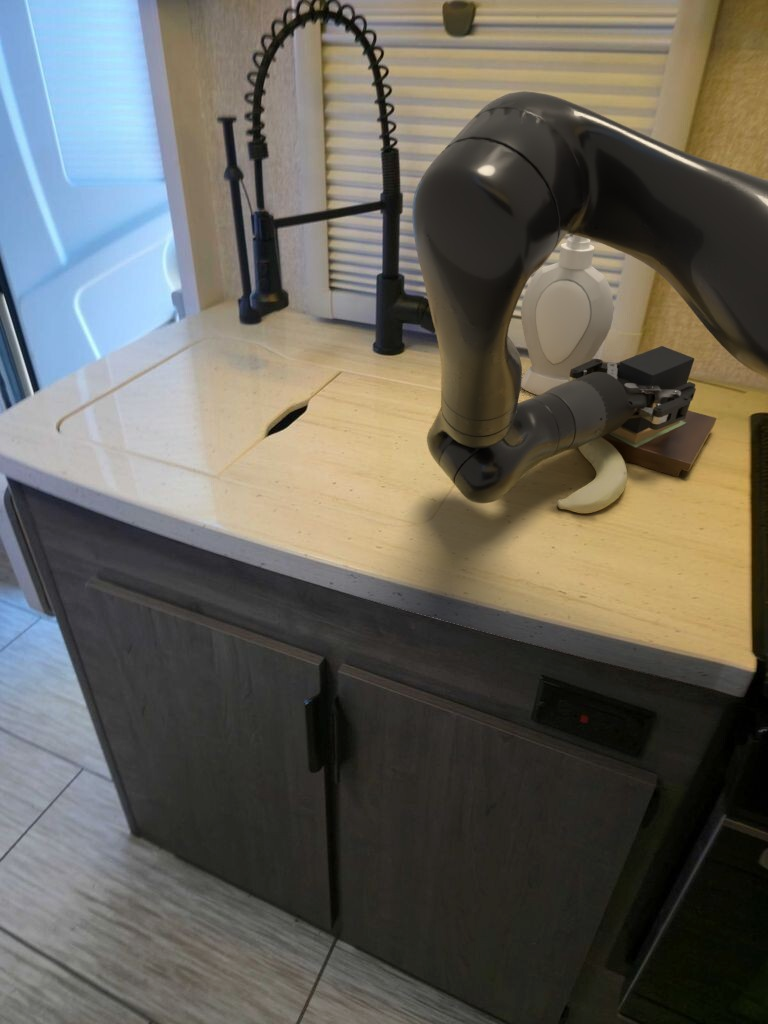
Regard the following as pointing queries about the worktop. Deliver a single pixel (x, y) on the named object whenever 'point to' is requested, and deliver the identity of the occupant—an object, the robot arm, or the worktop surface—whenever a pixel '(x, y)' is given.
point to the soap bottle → (564, 316)
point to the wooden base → (668, 445)
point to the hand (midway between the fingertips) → (661, 377)
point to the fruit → (599, 479)
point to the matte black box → (652, 383)
